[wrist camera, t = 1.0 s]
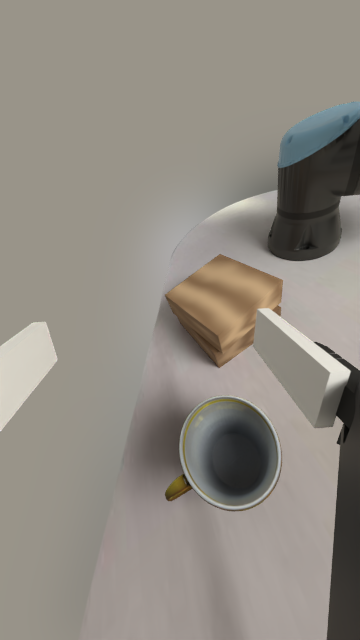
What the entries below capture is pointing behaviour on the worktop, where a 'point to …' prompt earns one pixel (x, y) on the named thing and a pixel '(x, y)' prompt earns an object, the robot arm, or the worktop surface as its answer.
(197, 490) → the ceramic cup
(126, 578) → the worktop surface
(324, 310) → the worktop surface
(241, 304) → the tower top block
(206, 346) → the tower bottom block
